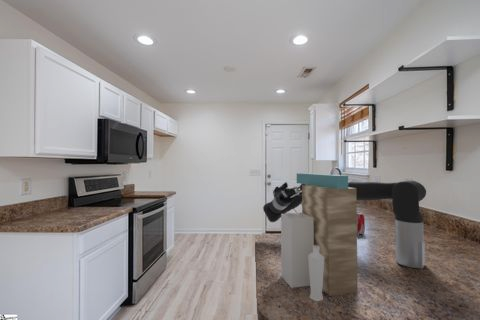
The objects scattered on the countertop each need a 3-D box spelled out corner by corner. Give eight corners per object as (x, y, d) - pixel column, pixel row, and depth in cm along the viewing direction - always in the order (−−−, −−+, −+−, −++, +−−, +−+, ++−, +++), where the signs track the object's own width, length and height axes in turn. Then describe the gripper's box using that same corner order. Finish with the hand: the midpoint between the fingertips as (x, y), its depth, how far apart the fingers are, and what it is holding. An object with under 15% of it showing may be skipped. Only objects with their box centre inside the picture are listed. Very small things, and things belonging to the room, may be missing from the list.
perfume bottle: (305, 293, 71) (305, 244, 71) (319, 293, 71) (319, 243, 72) (311, 302, 66) (311, 249, 67) (326, 301, 67) (325, 248, 67)
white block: (281, 276, 82) (281, 213, 83) (301, 274, 84) (301, 212, 85) (291, 287, 74) (291, 218, 75) (313, 284, 76) (313, 217, 77)
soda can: (366, 235, 132) (366, 214, 132) (353, 234, 133) (352, 213, 133) (362, 232, 139) (362, 212, 139) (349, 231, 140) (349, 211, 140)
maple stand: (302, 272, 85) (302, 184, 86) (326, 269, 88) (325, 184, 89) (329, 296, 70) (328, 188, 71) (357, 291, 72) (356, 188, 73)
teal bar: (296, 183, 97) (296, 173, 97) (305, 182, 98) (305, 173, 98) (337, 188, 71) (336, 175, 71) (348, 188, 72) (348, 175, 72)
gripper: (297, 206, 112) (313, 191, 99) (270, 207, 109) (282, 192, 95) (294, 192, 116) (308, 176, 103) (267, 192, 113) (278, 176, 99)
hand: (295, 184), depth 99 cm, fingers open, 8 cm apart
